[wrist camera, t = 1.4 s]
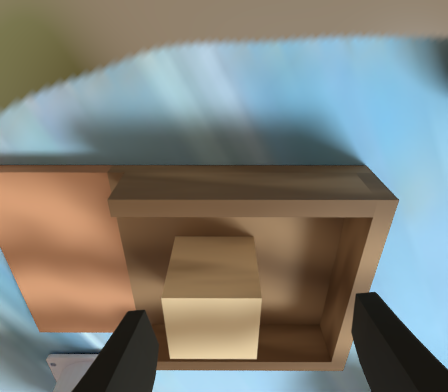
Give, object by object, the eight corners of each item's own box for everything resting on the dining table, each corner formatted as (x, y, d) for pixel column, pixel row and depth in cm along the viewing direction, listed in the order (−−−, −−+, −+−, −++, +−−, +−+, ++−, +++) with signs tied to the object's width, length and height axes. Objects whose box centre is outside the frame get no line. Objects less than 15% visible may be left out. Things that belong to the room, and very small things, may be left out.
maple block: (250, 292, 22) (256, 359, 18) (180, 292, 22) (170, 358, 18) (253, 236, 20) (261, 298, 15) (175, 236, 20) (161, 298, 15)
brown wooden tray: (326, 322, 25) (343, 370, 22) (46, 321, 25) (17, 369, 22) (366, 165, 18) (399, 200, 15) (-22, 165, 18) (-80, 199, 15)
